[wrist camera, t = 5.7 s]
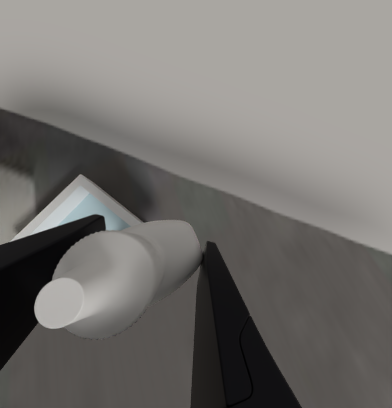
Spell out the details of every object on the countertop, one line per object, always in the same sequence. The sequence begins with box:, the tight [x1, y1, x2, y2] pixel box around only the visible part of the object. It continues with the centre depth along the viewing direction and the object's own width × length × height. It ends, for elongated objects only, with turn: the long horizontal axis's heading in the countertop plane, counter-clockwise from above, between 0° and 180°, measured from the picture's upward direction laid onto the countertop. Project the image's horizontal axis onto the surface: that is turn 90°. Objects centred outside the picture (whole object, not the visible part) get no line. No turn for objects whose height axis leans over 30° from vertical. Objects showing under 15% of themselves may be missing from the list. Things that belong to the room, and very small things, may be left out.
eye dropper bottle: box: [34, 220, 203, 340], centre depth 8 cm, size 4×6×12 cm
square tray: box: [10, 174, 144, 242], centre depth 18 cm, size 10×10×2 cm
